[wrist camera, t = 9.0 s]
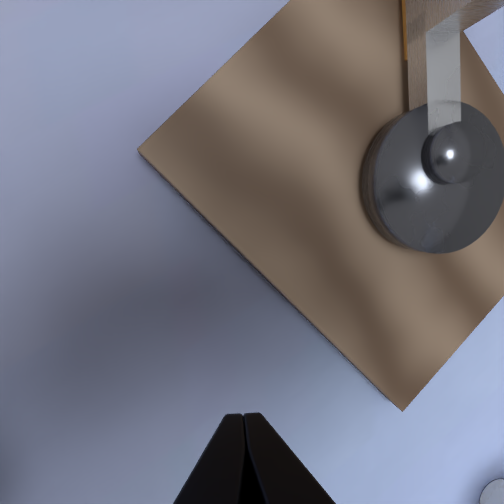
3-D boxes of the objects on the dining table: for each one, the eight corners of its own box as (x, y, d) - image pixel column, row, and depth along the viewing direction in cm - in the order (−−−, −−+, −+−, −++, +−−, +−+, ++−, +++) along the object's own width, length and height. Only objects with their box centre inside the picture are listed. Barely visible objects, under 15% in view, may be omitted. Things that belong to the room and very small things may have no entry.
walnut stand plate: (388, 399, 24) (402, 411, 22) (139, 154, 18) (136, 148, 17) (553, 210, 25) (577, 210, 24) (368, -70, 20) (384, -92, 18)
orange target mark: (423, 60, 20) (426, 57, 19) (404, 60, 19) (408, 58, 19) (419, -38, 19) (423, -42, 19) (399, -39, 19) (403, -43, 18)
